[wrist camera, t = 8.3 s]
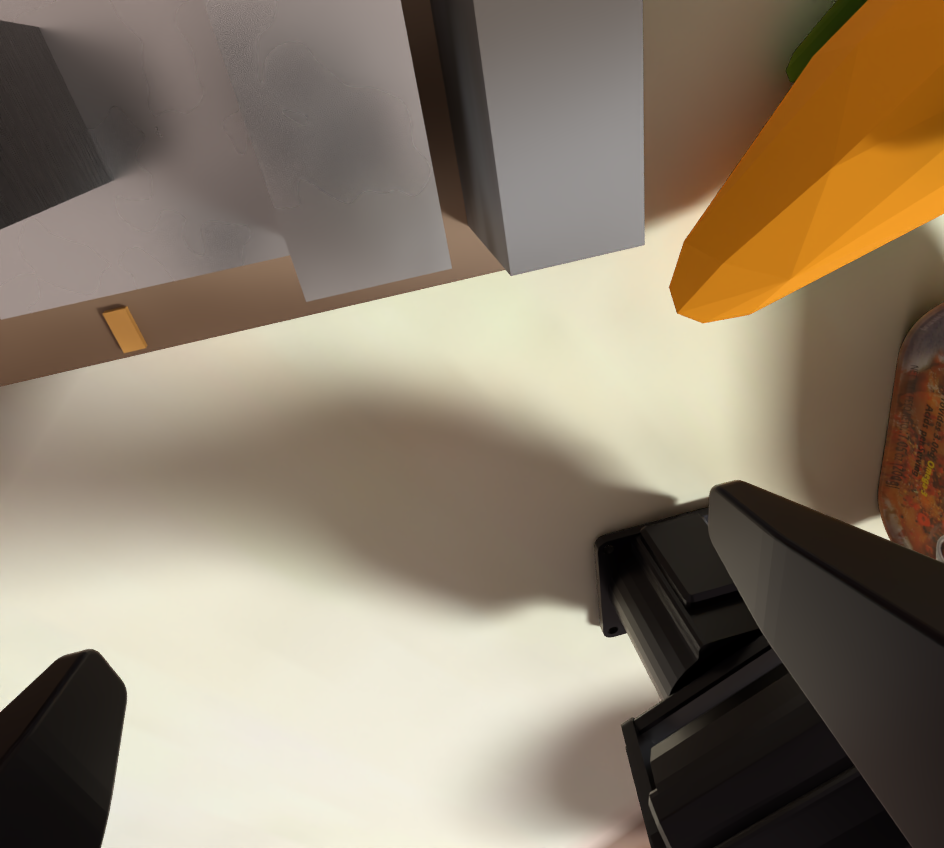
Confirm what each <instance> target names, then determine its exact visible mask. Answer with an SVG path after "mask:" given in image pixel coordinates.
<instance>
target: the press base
mask: <svg viewBox="0 0 944 848" xmlns="http://www.w3.org/2000/svg"><path fill="white" fill-rule="evenodd" d="M401 5H402V10H403V15H404V21H405V26H406V31H407V36H408V42H409V47H410V52H411V57H412V62H413V68H414V73H415V78H416V83H417V88H418V94H419V99H420V104H421V109H422V115H423V120H424V125H425V130H426V135H427V141H428V146H429V151H430V156H431V161H432V167H433V172H434V177H435V182H436V188H437V193H438V198H439V203H440V208H441V214H442V219H443V224H444V229H445V234H446V240H447V245H448V250H449V255H450V261H451V266H452V269H448V270H443V271H439V272H435V273H430V274H426V275H422V276H417V277H413V278H408V279H404V280H400V281H395V282H391V283H387V284H382V285H378V286H374V287H369V288H365V289H361V290H356V291H352V292H347V293H343V294H339V295H334V296H330V297H326V298H321V299H317V300H313V301H308V302H306V300H305V297H304V294H303V291H302V288H301V285H300V282H299V279H298V277H297V274H296V271H295V268H294V265H293V262H292V259H291V256H290V255H289V256H284V257H280V258H276V259H271V260H267V261H262V262H258V263H253V264H249V265H244V266H240V267H235V268H231V269H226V270H222V271H217V272H213V273H208V274H204V275H199V276H195V277H190V278H186V279H181V280H177V281H172V282H168V283H164V284H159V285H155V286H150V287H146V288H141V289H137V290H132V291H128V292H123V293H119V294H114V295H110V296H105V297H101V298H96V299H92V300H87V301H83V302H78V303H74V304H69V305H65V306H60V307H56V308H51V309H47V310H43V311H38V312H34V313H29V314H25V315H20V316H16V317H11V318H7V319H2V320H1V319H0V386H5V385H9V384H13V383H18V382H22V381H26V380H31V379H35V378H39V377H44V376H48V375H52V374H57V373H61V372H65V371H70V370H74V369H78V368H83V367H87V366H91V365H96V364H100V363H104V362H109V361H113V360H117V359H122V358H126V357H130V356H135V355H139V354H143V353H148V352H152V351H156V350H161V349H165V348H169V347H173V346H178V345H182V344H186V343H191V342H195V341H199V340H204V339H208V338H212V337H217V336H221V335H225V334H230V333H234V332H238V331H243V330H247V329H251V328H256V327H260V326H264V325H269V324H273V323H277V322H282V321H286V320H290V319H295V318H299V317H303V316H308V315H312V314H316V313H321V312H325V311H329V310H334V309H338V308H342V307H347V306H351V305H355V304H360V303H364V302H368V301H372V300H377V299H381V298H385V297H390V296H394V295H398V294H403V293H407V292H411V291H416V290H420V289H424V288H429V287H433V286H437V285H442V284H446V283H450V282H455V281H459V280H463V279H468V278H472V277H476V276H481V275H485V274H489V273H494V272H498V271H502V270H506V271H507V272H508V273H509V274H510V276H513V275H517V274H522V273H526V272H530V271H535V270H539V269H543V268H547V267H552V266H556V265H560V264H565V263H569V262H573V261H578V260H582V259H586V258H591V257H595V256H599V255H603V254H608V253H612V252H616V251H621V250H625V249H629V248H634V247H638V246H642V245H645V234H644V100H643V0H401Z"/></svg>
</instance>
